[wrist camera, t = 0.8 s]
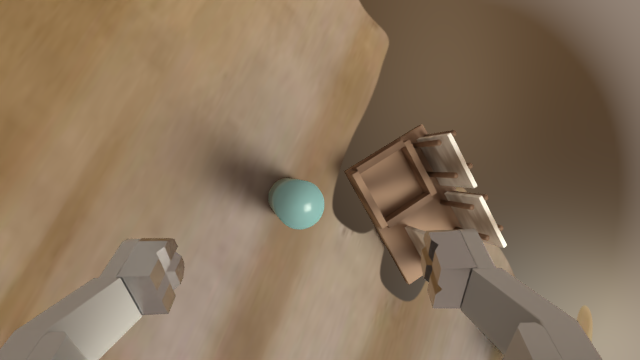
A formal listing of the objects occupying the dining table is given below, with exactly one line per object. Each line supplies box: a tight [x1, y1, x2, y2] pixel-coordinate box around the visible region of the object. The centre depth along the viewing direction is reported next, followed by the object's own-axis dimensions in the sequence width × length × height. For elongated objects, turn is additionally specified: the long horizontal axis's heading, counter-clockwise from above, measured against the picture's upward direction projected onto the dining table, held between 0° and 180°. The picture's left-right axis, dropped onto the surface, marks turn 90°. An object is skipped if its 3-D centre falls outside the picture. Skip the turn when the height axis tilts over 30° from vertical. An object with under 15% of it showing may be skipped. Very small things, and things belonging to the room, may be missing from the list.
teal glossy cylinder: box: [268, 178, 324, 229], centre depth 45 cm, size 6×6×10 cm
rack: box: [344, 124, 507, 284], centre depth 50 cm, size 20×14×9 cm
